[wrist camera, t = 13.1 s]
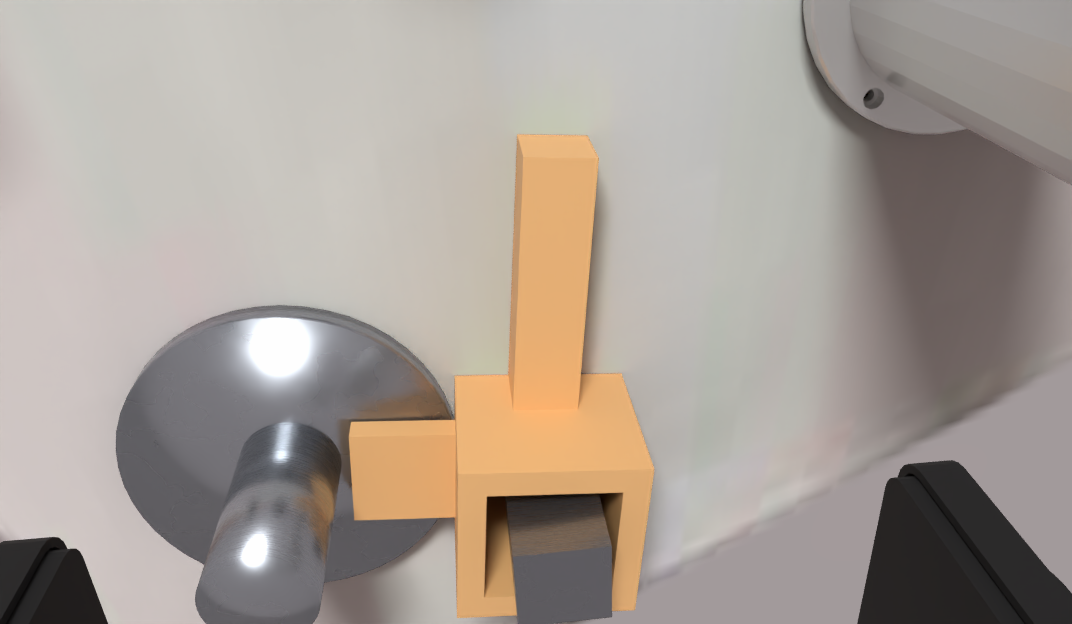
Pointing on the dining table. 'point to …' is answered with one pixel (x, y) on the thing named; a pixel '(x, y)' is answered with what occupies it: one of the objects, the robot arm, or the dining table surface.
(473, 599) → the bracket
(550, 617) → the grey long block
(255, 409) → the metal disc with post
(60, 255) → the dining table surface
